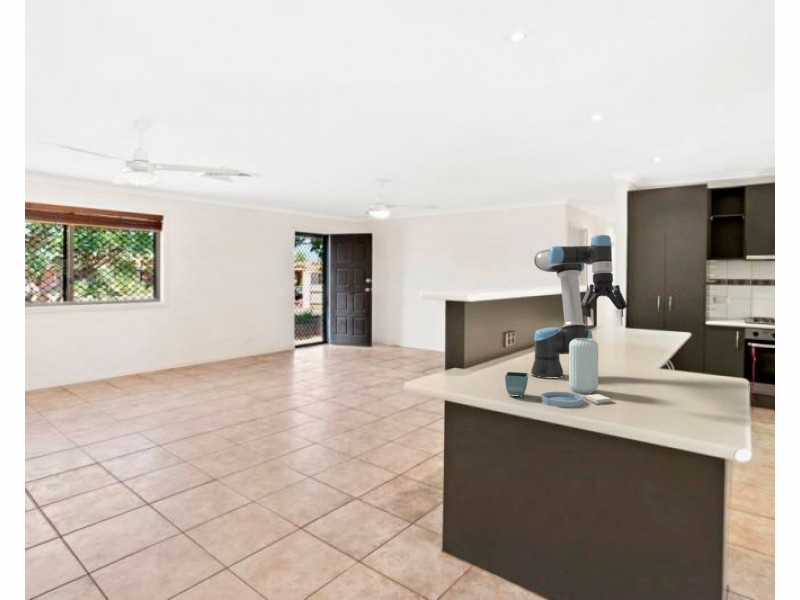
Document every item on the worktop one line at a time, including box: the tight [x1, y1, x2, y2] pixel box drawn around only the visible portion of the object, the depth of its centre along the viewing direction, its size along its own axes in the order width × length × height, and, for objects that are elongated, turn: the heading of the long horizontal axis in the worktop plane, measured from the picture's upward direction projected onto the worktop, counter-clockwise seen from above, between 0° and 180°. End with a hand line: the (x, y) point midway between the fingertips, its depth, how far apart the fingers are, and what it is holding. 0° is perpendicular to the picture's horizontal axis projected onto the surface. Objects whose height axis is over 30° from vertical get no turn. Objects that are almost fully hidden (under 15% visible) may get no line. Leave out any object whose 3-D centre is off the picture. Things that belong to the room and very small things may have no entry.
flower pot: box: [504, 371, 529, 397], centre depth 196 cm, size 9×9×9 cm
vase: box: [568, 338, 599, 394], centre depth 201 cm, size 12×12×22 cm
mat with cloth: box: [582, 393, 616, 406], centre depth 186 cm, size 10×8×2 cm
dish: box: [541, 390, 584, 408], centre depth 186 cm, size 15×15×2 cm
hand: (605, 325), depth 191 cm, fingers open, 13 cm apart
